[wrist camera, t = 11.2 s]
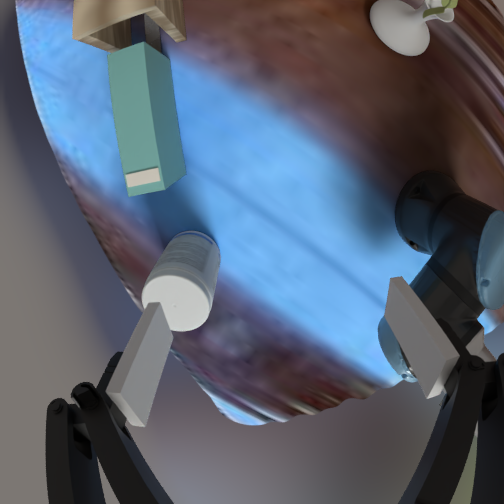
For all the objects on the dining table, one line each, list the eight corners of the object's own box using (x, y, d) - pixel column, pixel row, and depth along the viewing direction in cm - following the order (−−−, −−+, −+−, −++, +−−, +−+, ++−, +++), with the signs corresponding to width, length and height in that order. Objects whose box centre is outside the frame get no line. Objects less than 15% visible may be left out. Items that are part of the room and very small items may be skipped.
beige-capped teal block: (169, 59, 33) (143, 41, 23) (186, 174, 42) (164, 190, 31) (140, 67, 34) (106, 54, 24) (156, 179, 42) (128, 197, 32)
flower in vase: (399, -4, 26) (481, -54, 4) (434, 48, 30) (535, 28, 8) (345, 13, 30) (418, -60, 7) (384, 69, 34) (490, 40, 11)
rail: (157, -1, 29) (157, -1, 28) (179, 175, 42) (179, 175, 42) (143, 3, 29) (143, 3, 28) (165, 177, 42) (164, 177, 42)
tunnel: (182, 1, 29) (153, -42, 15) (186, 40, 32) (154, 4, 19) (121, 20, 30) (74, -8, 16) (124, 58, 33) (72, 38, 19)
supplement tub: (157, 246, 47) (125, 292, 34) (199, 218, 45) (177, 258, 32) (190, 287, 51) (171, 341, 38) (232, 263, 49) (224, 316, 35)
